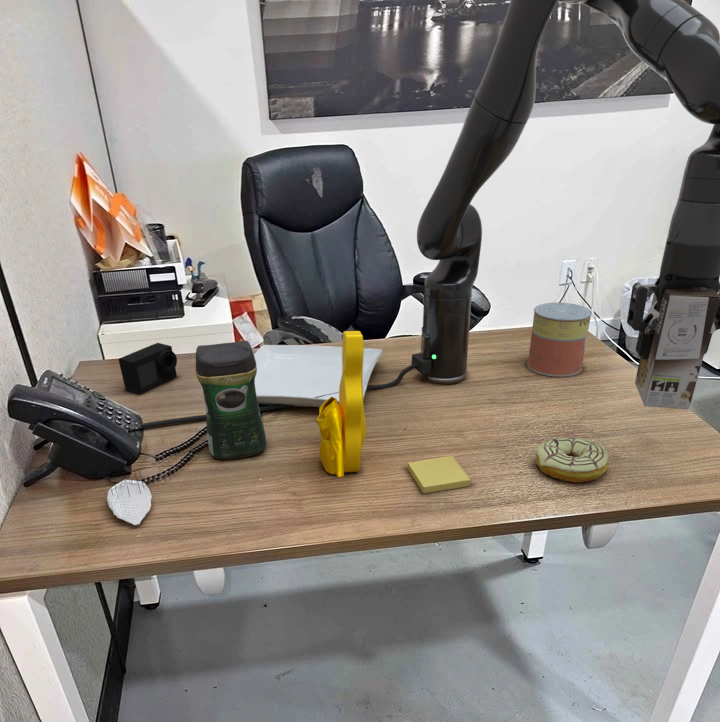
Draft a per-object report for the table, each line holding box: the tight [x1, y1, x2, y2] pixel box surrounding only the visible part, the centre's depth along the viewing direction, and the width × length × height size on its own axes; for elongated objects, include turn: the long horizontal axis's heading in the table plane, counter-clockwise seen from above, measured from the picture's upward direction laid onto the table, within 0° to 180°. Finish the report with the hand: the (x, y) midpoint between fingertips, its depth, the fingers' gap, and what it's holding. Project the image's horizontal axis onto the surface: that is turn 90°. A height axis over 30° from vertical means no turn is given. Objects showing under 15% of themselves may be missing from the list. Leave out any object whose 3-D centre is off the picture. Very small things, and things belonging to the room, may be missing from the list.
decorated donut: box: [535, 436, 609, 483], centre depth 102 cm, size 10×11×4 cm
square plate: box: [253, 344, 383, 408], centre depth 132 cm, size 27×27×4 cm
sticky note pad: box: [407, 455, 472, 494], centre depth 101 cm, size 8×8×1 cm
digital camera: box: [118, 342, 178, 395], centre depth 133 cm, size 10×5×7 cm, turn 148°
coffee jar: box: [195, 340, 267, 460], centre depth 106 cm, size 10×8×19 cm
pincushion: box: [106, 469, 153, 526], centre depth 95 cm, size 12×6×6 cm, turn 25°
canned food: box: [526, 302, 592, 378], centre depth 135 cm, size 11×11×12 cm
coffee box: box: [634, 277, 720, 410], centre depth 92 cm, size 9×6×16 cm
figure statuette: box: [315, 330, 367, 478], centre depth 100 cm, size 18×8×22 cm, turn 11°
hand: (669, 356), depth 93 cm, fingers closed on coffee box, 7 cm apart
